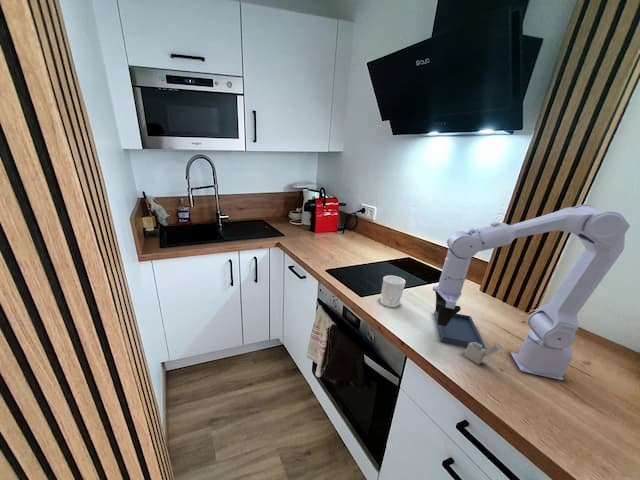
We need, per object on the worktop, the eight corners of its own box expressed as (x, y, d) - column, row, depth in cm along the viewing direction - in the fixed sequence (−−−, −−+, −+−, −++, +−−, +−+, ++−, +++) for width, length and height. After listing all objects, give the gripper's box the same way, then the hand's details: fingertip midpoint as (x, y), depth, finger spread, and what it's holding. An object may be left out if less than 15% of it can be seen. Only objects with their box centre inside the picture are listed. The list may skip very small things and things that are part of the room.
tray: (468, 320, 100) (470, 316, 99) (482, 350, 85) (484, 345, 84) (433, 314, 104) (435, 309, 103) (441, 341, 89) (442, 336, 88)
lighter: (463, 355, 83) (472, 333, 80) (467, 353, 84) (475, 331, 81) (490, 371, 77) (500, 347, 74) (493, 369, 78) (503, 345, 75)
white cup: (404, 307, 107) (410, 283, 103) (385, 308, 106) (390, 284, 102) (393, 297, 114) (398, 274, 110) (375, 298, 113) (379, 275, 109)
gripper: (435, 264, 85) (424, 303, 90) (438, 283, 73) (426, 327, 78) (462, 268, 83) (449, 308, 88) (470, 289, 70) (455, 334, 76)
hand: (440, 318), depth 83 cm, fingers open, 7 cm apart
